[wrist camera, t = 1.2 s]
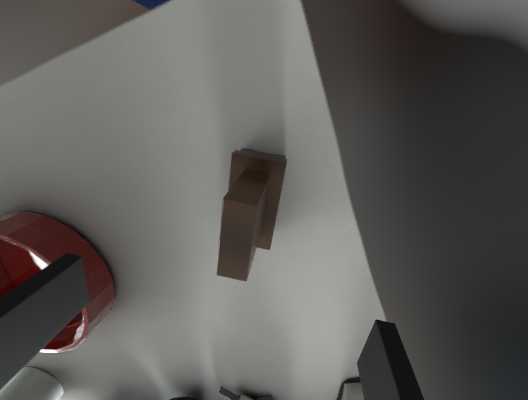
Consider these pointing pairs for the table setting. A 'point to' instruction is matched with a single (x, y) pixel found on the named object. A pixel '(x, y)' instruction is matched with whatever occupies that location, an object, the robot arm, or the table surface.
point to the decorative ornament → (351, 390)
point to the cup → (32, 386)
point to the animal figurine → (229, 396)
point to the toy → (184, 398)
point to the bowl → (44, 253)
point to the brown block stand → (249, 210)
